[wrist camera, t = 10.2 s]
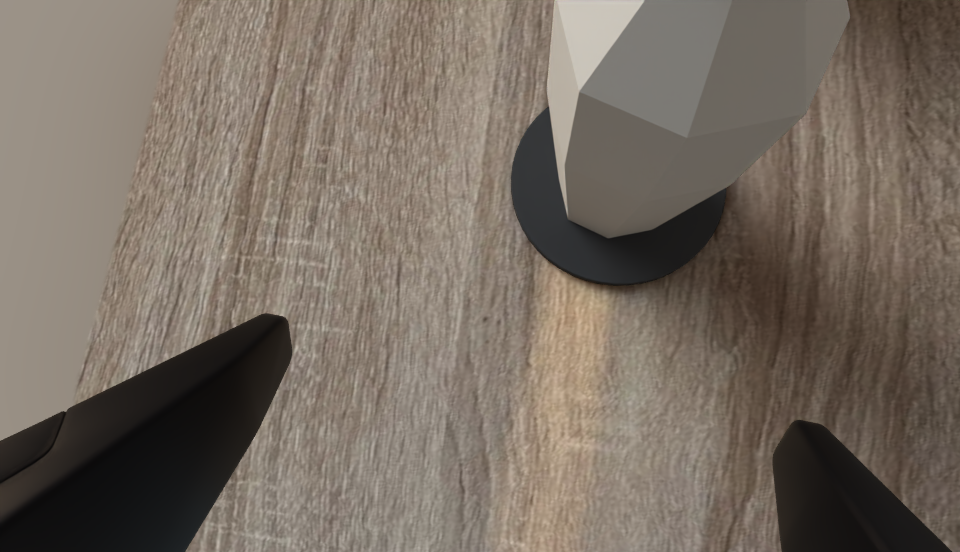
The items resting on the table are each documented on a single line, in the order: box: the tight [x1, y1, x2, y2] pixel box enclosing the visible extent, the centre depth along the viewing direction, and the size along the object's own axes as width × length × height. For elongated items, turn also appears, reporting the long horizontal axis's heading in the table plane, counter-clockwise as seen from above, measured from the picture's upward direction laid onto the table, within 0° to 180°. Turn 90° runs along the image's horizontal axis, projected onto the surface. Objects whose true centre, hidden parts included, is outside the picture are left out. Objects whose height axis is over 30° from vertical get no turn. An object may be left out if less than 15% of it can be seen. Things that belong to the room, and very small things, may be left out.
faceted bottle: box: [547, 0, 850, 238], centre depth 12 cm, size 6×6×22 cm
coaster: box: [511, 107, 726, 286], centre depth 23 cm, size 9×9×1 cm
